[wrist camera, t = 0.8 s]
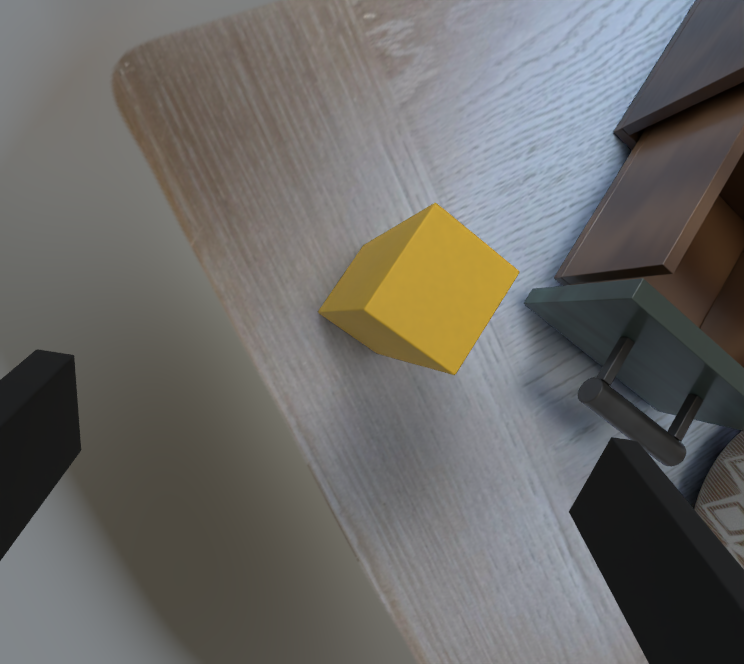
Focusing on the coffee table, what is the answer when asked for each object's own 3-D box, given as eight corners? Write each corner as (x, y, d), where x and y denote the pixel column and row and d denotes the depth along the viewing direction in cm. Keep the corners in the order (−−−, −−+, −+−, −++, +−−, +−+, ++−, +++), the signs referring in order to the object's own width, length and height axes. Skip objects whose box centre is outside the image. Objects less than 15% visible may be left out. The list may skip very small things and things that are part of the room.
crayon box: (317, 312, 28) (362, 310, 17) (363, 244, 28) (435, 201, 18) (377, 354, 29) (455, 376, 18) (420, 287, 29) (521, 271, 19)
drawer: (627, 464, 33) (761, 515, 24) (487, 360, 30) (584, 378, 21) (754, 237, 35) (915, 212, 27) (637, 118, 32) (778, 47, 24)
